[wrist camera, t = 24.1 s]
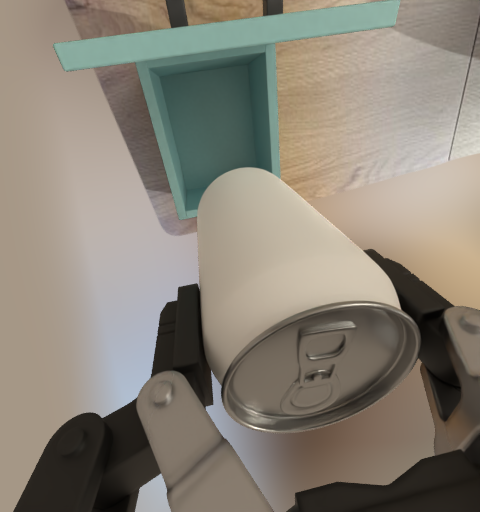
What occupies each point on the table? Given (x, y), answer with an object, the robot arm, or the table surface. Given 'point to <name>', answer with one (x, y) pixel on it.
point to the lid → (224, 33)
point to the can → (293, 309)
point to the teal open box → (212, 117)
